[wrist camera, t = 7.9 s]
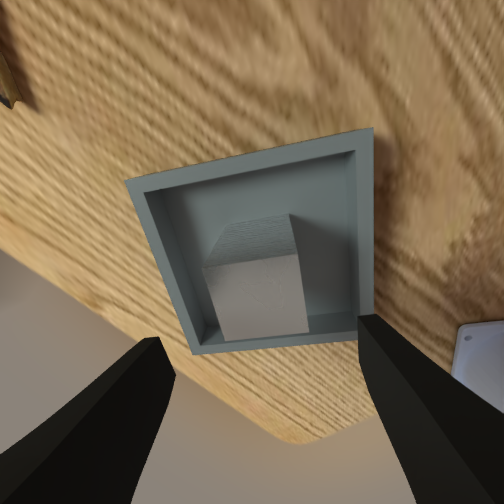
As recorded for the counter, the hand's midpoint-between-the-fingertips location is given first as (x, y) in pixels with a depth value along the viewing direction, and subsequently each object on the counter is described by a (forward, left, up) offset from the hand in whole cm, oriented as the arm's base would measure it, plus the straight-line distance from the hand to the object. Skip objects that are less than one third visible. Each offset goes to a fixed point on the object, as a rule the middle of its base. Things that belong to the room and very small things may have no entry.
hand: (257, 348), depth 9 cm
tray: (0, 0, -9) cm, 9 cm away
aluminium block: (+1, 0, -8) cm, 8 cm away
